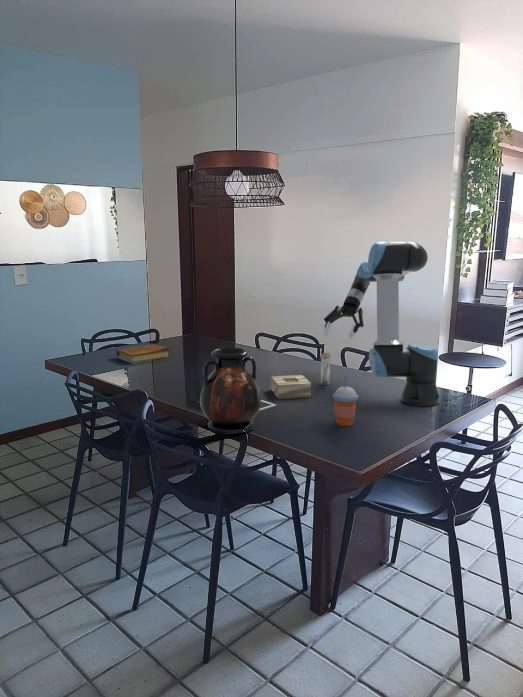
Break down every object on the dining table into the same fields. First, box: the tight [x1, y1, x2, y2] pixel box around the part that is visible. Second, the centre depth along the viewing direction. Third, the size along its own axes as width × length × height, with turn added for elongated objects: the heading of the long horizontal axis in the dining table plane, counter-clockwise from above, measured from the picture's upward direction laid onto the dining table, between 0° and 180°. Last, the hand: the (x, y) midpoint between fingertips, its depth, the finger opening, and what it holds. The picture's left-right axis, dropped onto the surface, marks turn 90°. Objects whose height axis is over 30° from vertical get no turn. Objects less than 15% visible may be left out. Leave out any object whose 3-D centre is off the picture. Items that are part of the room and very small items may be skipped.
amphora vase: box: [199, 347, 262, 435], centre depth 189 cm, size 22×22×28 cm
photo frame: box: [259, 399, 277, 411], centre depth 218 cm, size 15×1×18 cm
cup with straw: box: [332, 374, 359, 427], centre depth 194 cm, size 9×9×18 cm
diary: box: [115, 343, 170, 362], centre depth 301 cm, size 23×19×6 cm
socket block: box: [270, 374, 312, 400], centre depth 233 cm, size 14×14×6 cm
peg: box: [320, 352, 331, 386], centre depth 246 cm, size 4×4×14 cm
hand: (337, 336), depth 252 cm, fingers open, 13 cm apart
